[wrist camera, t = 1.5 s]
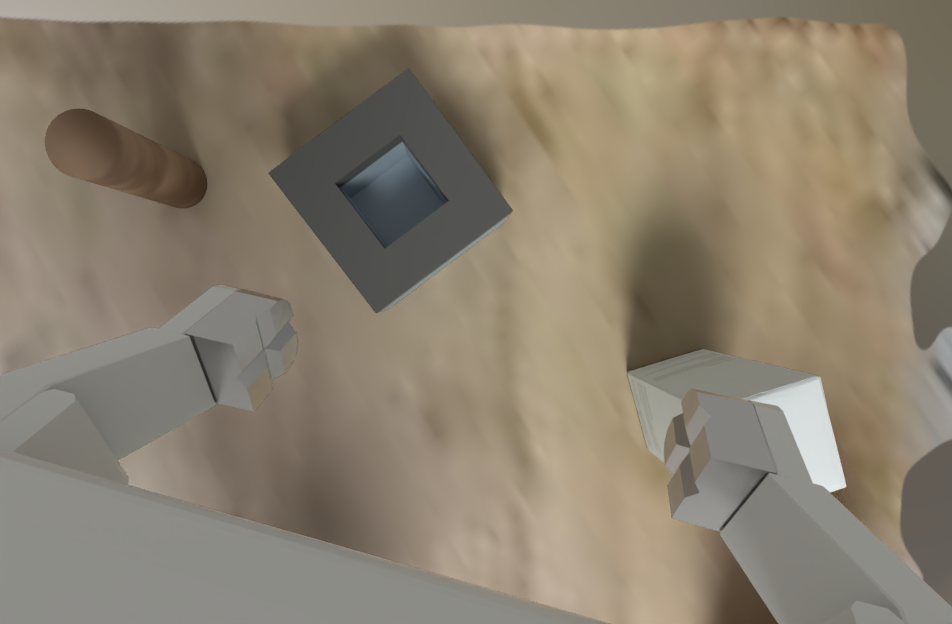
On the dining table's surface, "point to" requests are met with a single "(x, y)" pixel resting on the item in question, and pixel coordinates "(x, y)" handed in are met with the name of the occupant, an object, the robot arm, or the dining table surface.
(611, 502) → the dining table surface
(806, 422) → the supplement box
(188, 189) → the walnut peg
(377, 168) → the socket block
